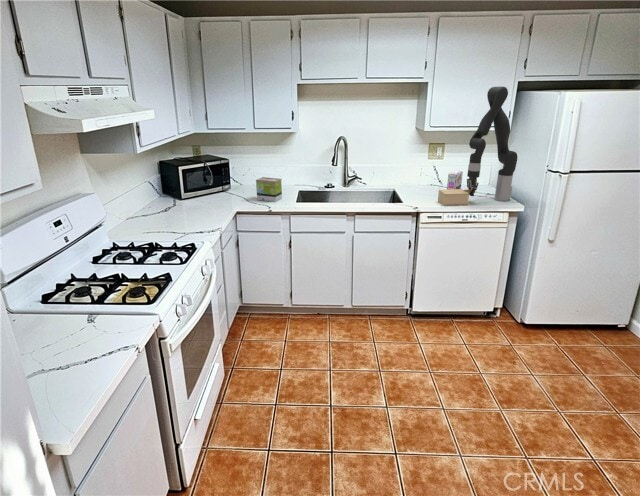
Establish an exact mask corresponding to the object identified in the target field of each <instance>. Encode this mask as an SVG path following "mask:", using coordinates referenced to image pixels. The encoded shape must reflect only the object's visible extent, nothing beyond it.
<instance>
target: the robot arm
mask: <svg viewBox="0 0 640 496" xmlns="http://www.w3.org/2000/svg"><path fill="white" fill-rule="evenodd" d="M486 95H487V101H488V105H489V109H488V111H487V112H486V113H485V114H484V115H483V117H482V118H481V120H480V122H479V125H478V126H477V129H476V131H475V132H474V133H473V135H472V137H471V138H470V140H469V148H470V149H472V150H475V151H474V152H472V153H470V155H469V162H468V168H467V177H468V178H466V188H467V190H468V189H471V193H469V197H474V195H475V193H474V191H475V192H476V191H477V190H478V187H479V182H478V178H480V175H481V166H482V165H481V164H482V157H483V154H484V152H485V149H486V147H487V143H486V140H485V138H483V137H485V136H488V134H489V132H490V129H491V127H492V124H493V128H494V134H495V140H496V147H497V148H496V149H497V158H498V162H499V163H500V164H503V166H502V168H501V169H499V170H498V173H497V177H496V178H497V180H496V186H495V191H494V198H493V199H494V200H496V201H499V202H508V201H511V196H512V191H513V186H512V183H513V178H514V172H515V171H516V167H517V161H518V153H517V152H516V151H514V150H510V149H509V144H508V143H509V142H508V140H509V138H510V134H511V123H510V119H509V117H508V116H507V114H506V113H505V111H504V110H503V108H502V107H503V105H504V103H505V102H506V100H507V98H508V95H509V90H508V87H506V86H492V87H490V88H488V90H487V94H486Z"/></svg>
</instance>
